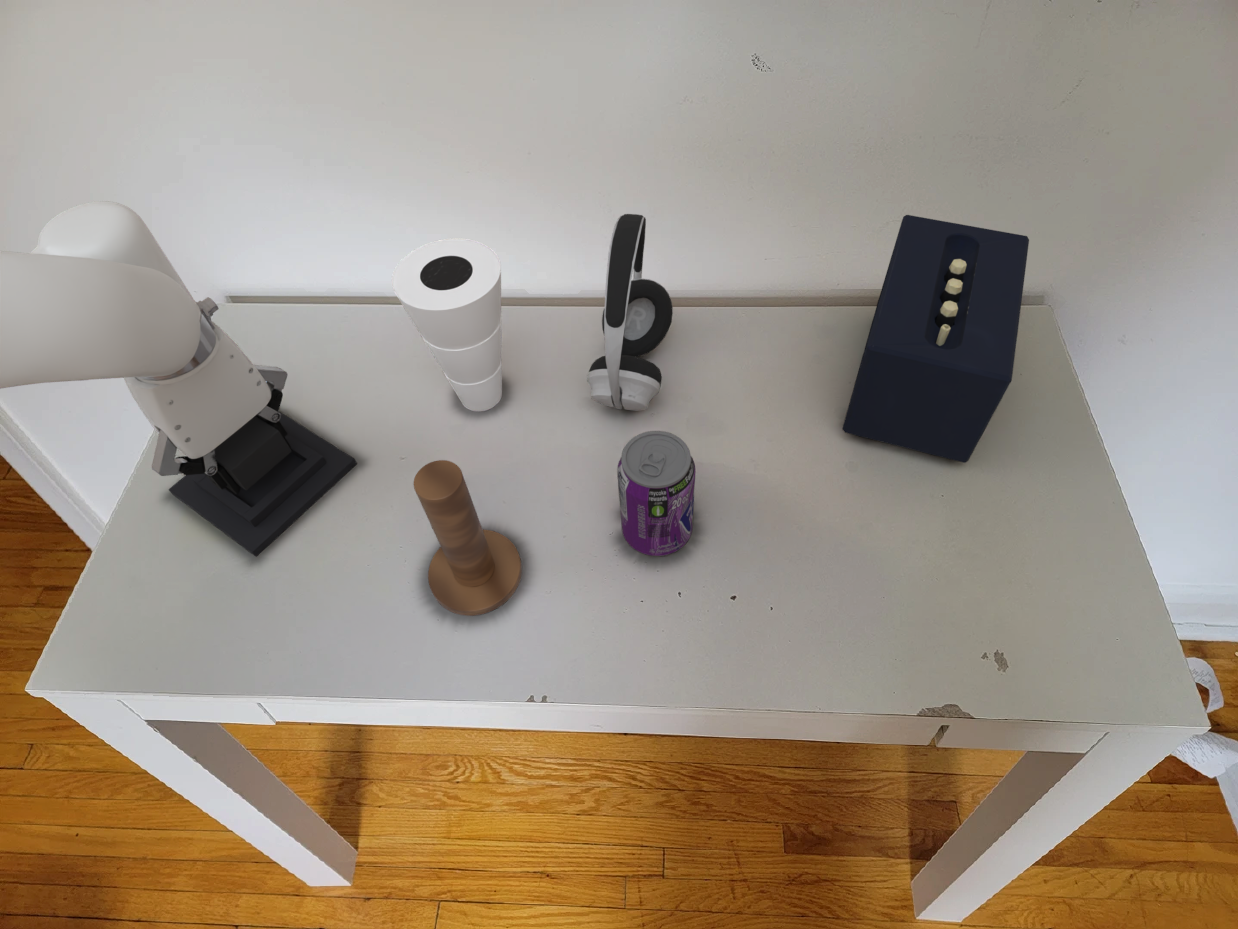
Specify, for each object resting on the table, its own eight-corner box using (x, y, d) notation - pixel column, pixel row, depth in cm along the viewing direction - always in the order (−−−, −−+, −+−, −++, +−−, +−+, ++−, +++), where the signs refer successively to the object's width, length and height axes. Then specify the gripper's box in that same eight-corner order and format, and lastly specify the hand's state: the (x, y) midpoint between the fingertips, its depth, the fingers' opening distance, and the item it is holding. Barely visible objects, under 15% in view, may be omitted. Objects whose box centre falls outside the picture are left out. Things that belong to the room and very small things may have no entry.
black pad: (246, 490, 78) (231, 470, 75) (209, 465, 80) (193, 444, 77) (292, 451, 81) (278, 430, 78) (255, 427, 83) (241, 406, 80)
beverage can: (675, 570, 74) (677, 501, 65) (610, 544, 76) (602, 474, 67) (702, 513, 78) (708, 440, 68) (639, 490, 80) (636, 416, 70)
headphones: (608, 317, 96) (598, 173, 80) (675, 321, 95) (678, 176, 79) (582, 436, 85) (564, 297, 69) (658, 442, 84) (657, 303, 68)
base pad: (256, 557, 77) (246, 546, 76) (172, 494, 83) (161, 482, 81) (357, 463, 84) (350, 451, 82) (274, 411, 89) (266, 398, 87)
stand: (480, 633, 71) (440, 545, 59) (411, 585, 75) (359, 492, 62) (540, 562, 76) (515, 466, 63) (472, 519, 79) (435, 420, 66)
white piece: (416, 407, 88) (368, 285, 74) (475, 350, 94) (441, 226, 79) (487, 445, 85) (451, 324, 70) (545, 384, 90) (522, 259, 75)
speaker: (875, 311, 94) (906, 205, 82) (984, 334, 91) (1033, 228, 79) (838, 441, 83) (868, 340, 71) (962, 473, 80) (1016, 374, 67)
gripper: (220, 271, 72) (294, 398, 87) (52, 386, 64) (165, 505, 79) (272, 300, 69) (340, 426, 84) (104, 424, 61) (211, 540, 76)
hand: (254, 463), depth 81 cm, fingers closed on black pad, 5 cm apart
